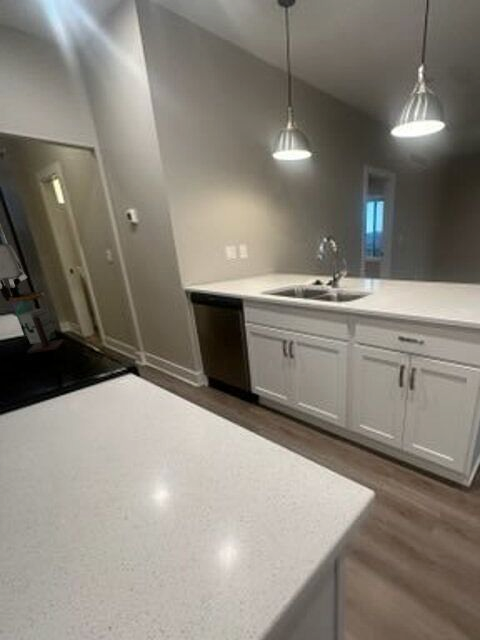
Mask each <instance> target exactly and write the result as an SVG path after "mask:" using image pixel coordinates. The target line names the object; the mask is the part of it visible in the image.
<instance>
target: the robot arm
mask: <svg viewBox="0 0 480 640" xmlns="http://www.w3.org/2000/svg"><path fill="white" fill-rule="evenodd" d="M4 279H5V280H6V279H8V282H9V285H10V288H9V287H7V286H6V283H5V281H4ZM27 279H28V276H27V274H26V273H25V272H24V270H23V267H22V263H21V261H20V259H19V257H18V256H17V253H16V252H15V250H14V248H13V247H12V245H11V244H9V243H8V241H7V238H6V235H5V232H4V229H3V227H2V224H1V223H0V292H1V295H2V297H3V299H4V300H5V301H6V302H8V301H10V300H9V299H8V298H9V297H11V294H12V297H13V298H18V297H20V293H19V291H18V288H19V284H20V283H21V282H23V281H25V280H27ZM17 286H18V288H17ZM10 292H11V294H10Z"/></svg>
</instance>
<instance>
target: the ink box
mask: <svg viewBox="0 0 480 640" xmlns="http://www.w3.org/2000/svg"><path fill="white" fill-rule="evenodd" d="M19 316H20V319H21V322H22V324H23V327H24V329H25V332H26V334H27V337H26V338H27V339H28V341H29V344H30V345H34V344H35V343H40V342H41V340H40V338H39V335H38V332H37V329H36V327H35V324H34V321H33V318H36V317H40V320H41V323H42V326H43V329H44V331H45V334H46V337H47V340H48V341H52V340H53V339H55V338H57V337H58V336H57V333H56V331H55V328H54V325H53V323H52V319H51V316H50V314H49V311H48V308H46V307H44V308H34V309H32V311H29V312H26V313H23V314H20V315H19Z"/></svg>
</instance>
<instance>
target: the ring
mask: <svg viewBox="0 0 480 640" xmlns="http://www.w3.org/2000/svg"><path fill="white" fill-rule="evenodd" d="M44 296H45V294H44V293H43V292H39V291H37V292H36V291H35V292H34V291H33V292H25V293H24V294H20V297H18V298H13V297H12V296H11V297H9V298H8V299H9V301H10V302H11V301H26V300H29V301H32V300H38V299H42V298H43V297H44Z"/></svg>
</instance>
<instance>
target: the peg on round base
mask: <svg viewBox="0 0 480 640" xmlns="http://www.w3.org/2000/svg"><path fill="white" fill-rule="evenodd" d="M33 321H34V324H35V327H36V329H37V332H38V335H39V338H40V340H41V342H40V343H34V344H32V346H30V347H29V349H27V351H26V353H27V354H35V353H42V352H49V351H54V350H59V348H60V347H61V346H62V345H63V343H64V342H65V341H64V338H63V339H55V340H49V341H48V340H47V337H46V334H45V331H44V329H43V326H42V323H41V320H40V317H36V318H33Z"/></svg>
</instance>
